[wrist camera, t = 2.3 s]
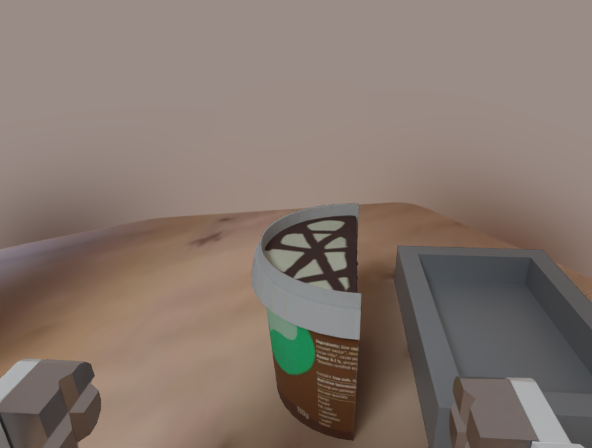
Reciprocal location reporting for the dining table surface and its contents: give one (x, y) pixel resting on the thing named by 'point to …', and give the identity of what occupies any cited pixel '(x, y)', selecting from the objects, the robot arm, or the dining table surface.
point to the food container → (313, 313)
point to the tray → (495, 329)
